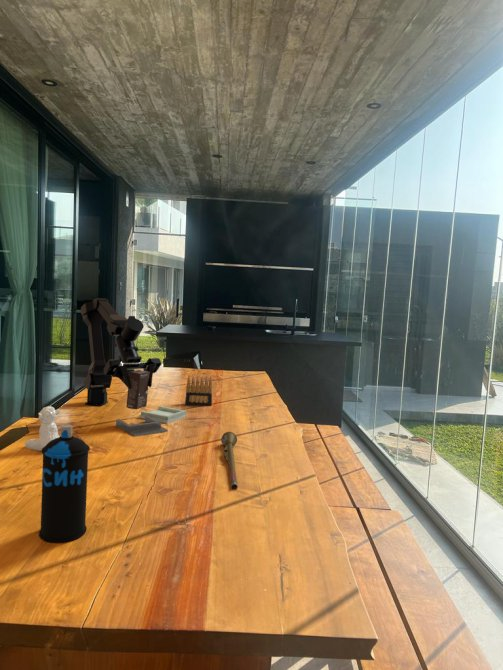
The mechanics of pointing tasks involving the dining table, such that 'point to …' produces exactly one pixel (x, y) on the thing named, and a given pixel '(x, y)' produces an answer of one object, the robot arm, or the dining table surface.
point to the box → (138, 389)
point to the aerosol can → (64, 488)
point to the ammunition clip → (199, 392)
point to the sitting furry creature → (45, 429)
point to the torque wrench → (230, 455)
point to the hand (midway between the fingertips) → (140, 387)
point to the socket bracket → (142, 427)
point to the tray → (165, 414)
